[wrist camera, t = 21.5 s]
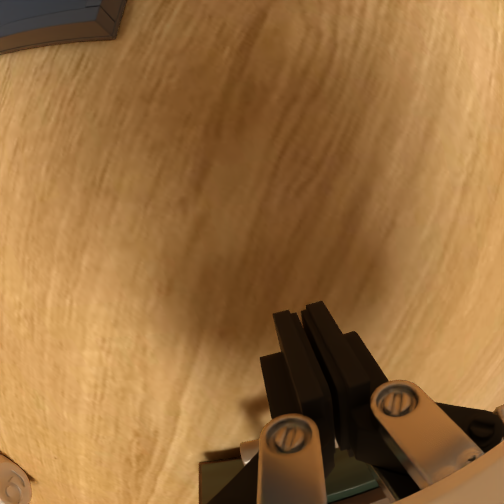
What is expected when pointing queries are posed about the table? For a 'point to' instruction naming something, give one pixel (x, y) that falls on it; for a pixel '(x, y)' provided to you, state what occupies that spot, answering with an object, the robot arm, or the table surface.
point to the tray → (57, 22)
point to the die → (13, 483)
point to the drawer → (337, 483)
